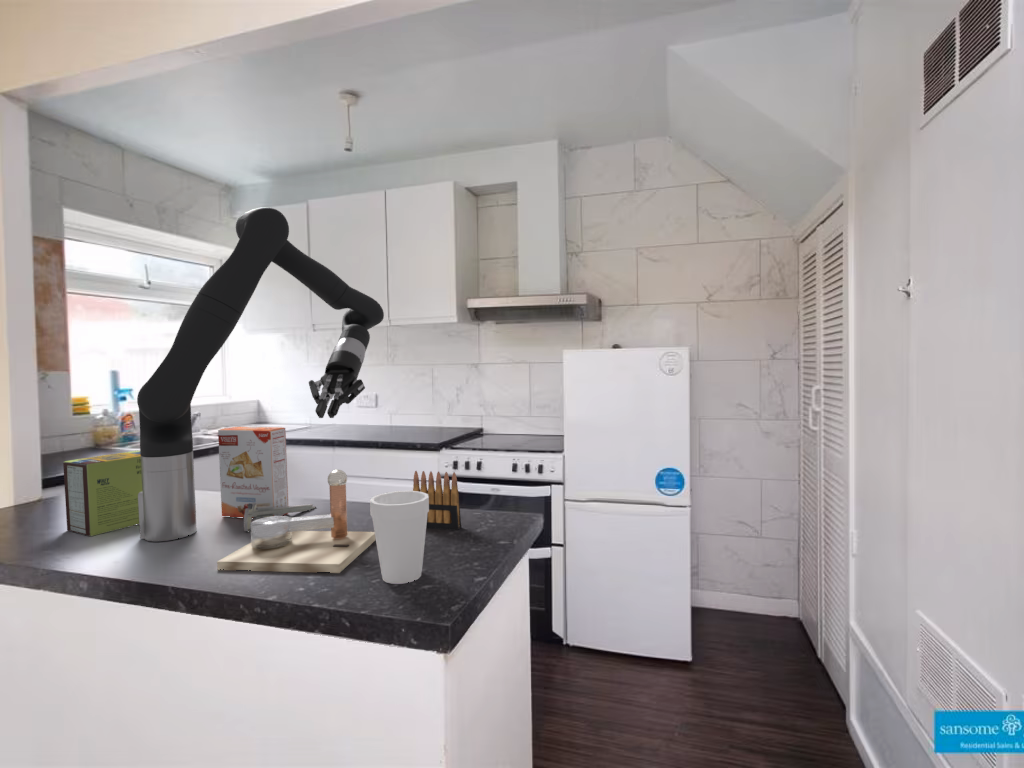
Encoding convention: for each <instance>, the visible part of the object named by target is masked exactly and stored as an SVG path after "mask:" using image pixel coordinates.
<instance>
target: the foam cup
mask: <svg viewBox="0 0 1024 768" xmlns="http://www.w3.org/2000/svg"><path fill="white" fill-rule="evenodd" d="M369 504H370V505H369V507H370V508H369V509H370V512H369V513H370V517H371V519H372V524H373V526H372V527H373V532H375V538H376V540H375V543H376V549H377V554H378V561H379V566H380V572H381V573H380V574H381V577H382V580H383V581H384V582H385V583H388V584H392V585H402V584H407V583H408V582H409V583H412V582H414V580H415V581H417V580H418V579H420V578H421V577H422V573H423V563H424V555H425V553H424V552H425V542H426V535H427V534H426V533H427V528H426V525H427V515H428V512H429V497H428V494H426V493H424V492H418V491H413V490H396V491H388V492H385V493H384V492H383V493H380V494H376V495H374V496H372V497H371V498H370V500H369Z"/></svg>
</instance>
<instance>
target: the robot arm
mask: <svg viewBox="0 0 1024 768" xmlns="http://www.w3.org/2000/svg"><path fill="white" fill-rule="evenodd" d="M235 232H236V235H237V238H238V242H237V243H236V246H235V247H234V249H233V251H232V252H231V254H230V256H229V257H228V258H227V259H226V260H225V261H224V262H223V263H222V265H221V266H220V267H218V268H217V269H216V271H215V272H214V273H213V274H212V275H211V276H210V277H209V278H208V279H207V281H205V283H204V284H203V285H202V287H200V290H199V291H198V293H197V294H196V296H195V297H194V300H193V301H192V302H191V305H190V306H189V308H188V310H187V312H186V314H185V316H184V318H183V320H182V321H181V324H180V326H179V328H178V330H177V333H176V335H175V338H174V341H173V343H172V344H171V347H170V350H169V351H168V352H167V354H166V356H165V358H164V359H163V360H162V362H161V363H160V364H159V366H158V367H157V368H156V370H155V371H154V372H153V373H152V375H151V376H150V378H149V379H148V380H147V381H146V382H145V383H144V384H143V385H142V387H141V388H140V389H139V390H138V393H137V398H136V400H137V403H136V404H137V407H138V415H139V417H138V419H139V451H140V455H141V470H142V471H141V474H142V492H139V493H138V507H139V524H138V525H139V538H140V539H141V540H145V541H146V542H147V541H148V542H167V541H172V540H173V541H174V540H178V538H179V539H182V538H185V537H189V536H191V535H193V534H195V533H196V532H197V531H196V530H198V528H197V510H196V509H197V508H196V505H197V504H196V487H195V486H196V484H195V465H194V463H195V462H194V443H193V428H192V427H193V426H192V409H191V408H192V405H191V403H192V400H193V398H194V395H195V393H196V391H197V388H198V386H199V384H200V382H201V379H202V378H203V375H204V373H205V372H206V370H207V368H208V366H209V365H210V363H211V362H212V360H213V359H215V356H217V354H218V352H219V351H220V350H221V349H222V347H223V346H224V345H225V343H226V342H227V340H228V339H229V337H230V336H231V334H232V332H233V331H234V329H235V327H236V326H237V324H238V322H239V320H240V319H241V317H242V316H243V314H244V311H245V309H246V307H247V306H248V303H249V302H250V300H251V299H252V296H253V295H254V292H255V290H256V288H257V287H258V284H259V282H260V280H261V279H262V277H263V275H264V273H265V272H266V270H267V269H268V267H269V266H270V264H271V263H274V264H275V265H276V266H278V267H279V268H281V270H284V271H286V273H288V274H290V276H292V277H293V278H295V279H296V280H297V281H299V282H300V283H301V284H302V285H304V286H305V288H308V289H309V290H310V291H311V292H312V293H313V294H315V295H316V296H317V297H319V298H320V300H322V301H323V302H325V303H326V304H327V306H330V307H331V308H332V309H333V310H336V311H337V310H339V311H341V310H345V309H346V311H345V313H344V314H343V316H342V320H341V321H342V322H341V323H342V324H341V334H340V336H339V338H338V340H337V342H336V344H335V345H334V348H333V350H332V352H331V354H330V356H329V359H328V362H327V364H326V367H325V371H324V374H323V375H322V376H321V377H320V379H318V380H316V381H314V379H310V380H309V381H308V385H309V389H310V393H311V396H312V398H313V400H314V402H315V403H316V404H317V405H316V408H315V410H314V411H315V414H316V416H317V417H318V419H323V418H324V417H325V414H326V413H327V415H328V418H330V419H334V418H335V417H336V416H337V415H338V412H339V410H340V407H341V406H342V405H343V404H346V405H348V404H350V403H351V402H352V401H354V400H355V399H356V397H358V396H359V395H360V394H361V393H362V392H363V391H364V390H365V389H366V387H365V384H364V382H363V380H362V379H361V378H360V379H358V376H359V374H360V372H361V369H362V366H363V363H364V361H365V355H366V352H367V348H368V346H369V344H370V338H371V336H370V335H371V334H370V332H369V330H370V329H371V328H374V327H375V326H378V325H379V324H380V323H382V321H383V320H384V318H385V317H384V316H385V312H384V310H383V307H382V306H381V304H380V303H379V302H378V301H377V300H375V299H374V298H373V297H371V296H370V295H367V294H365V293H363V292H362V291H360V290H358V289H355V288H353V287H351V286H350V285H349V284H348V283H346V281H344V280H343V279H342V278H341V277H339V276H338V275H337V274H336V273H335V272H334V271H332V270H331V269H329V267H327V266H325V265H323V264H322V263H320V262H318V261H316V260H315V259H314V258H312V257H310V256H309V255H307V254H306V253H304V252H303V251H301V250H300V249H299V248H298V247H296V246H295V245H294V244H293V243H291V242H290V241H289V240H288V238H289V234H290V226H289V222H288V220H287V218H286V216H285V215H284V214H283V213H282V212H281V211H279V210H278V209H276V208H273V207H265V206H263V207H257V208H253V209H251V210H249V211H246V212H244V213H242V214H241V215H240V216H239V217H238V218H237V220H236V223H235ZM321 387H322V388H321ZM320 391H321V393H320ZM329 403H330V404H329ZM328 405H329V406H328ZM188 535H189V536H188Z"/></svg>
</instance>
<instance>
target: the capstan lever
mask: <svg viewBox="0 0 1024 768" xmlns="http://www.w3.org/2000/svg"><path fill="white" fill-rule="evenodd" d="M347 482H348V476H347V473H346V472H345V471H344V470H341V469H335V470H332V471H331V472H330V473H329V474H328V476H327V483H328V487H329V508H330V509H329V510H330V511H329V512H330V513H329V514H328V513H327V514H317V515H308V516H306V515H305V516H295V517H291V516H288V515H284V516H271V517H265V518H261V519H258V520H255V521H253V522H252V521H251V524H250V525H251V527H250V543H251V546H252V547H253V548H256V549H270V548H276V547H280V546H284V545H286V544H288V543H290V542H291V541H292V532H294V531H315V530H321V529H322V530H324V529H330V531H331V537H332V538H342V537H345V536H347V535H348V534H347V531H348V509H347Z"/></svg>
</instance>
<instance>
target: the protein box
mask: <svg viewBox="0 0 1024 768" xmlns="http://www.w3.org/2000/svg"><path fill="white" fill-rule="evenodd" d="M62 464H63V465H62V467H63V480H64V482H63V483H64V497H65V498H64V499H65V500H64V501H65V515H66V516H65V517H66V519H65V520H66V531H68V532H71V533H76V534H79V535H84V536H87V537H94V536H97V535H101V534H106V533H110V532H114V531H117V530H121V528H122V529H125V527H126V528H129V526H130V527H133V525H134V526H136V524H138V525H139V507H138V493H139V492H142V474H141V471H142V470H141V455H140V450H137V449H136V450H132V451H125V452H119V453H109V454H104V455H97V456H91V457H85V458H83V457H82V458H77V459H70V460H65V461H63V462H62Z"/></svg>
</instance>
